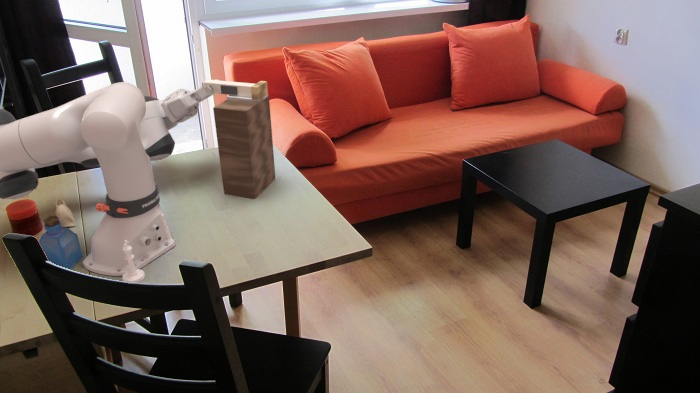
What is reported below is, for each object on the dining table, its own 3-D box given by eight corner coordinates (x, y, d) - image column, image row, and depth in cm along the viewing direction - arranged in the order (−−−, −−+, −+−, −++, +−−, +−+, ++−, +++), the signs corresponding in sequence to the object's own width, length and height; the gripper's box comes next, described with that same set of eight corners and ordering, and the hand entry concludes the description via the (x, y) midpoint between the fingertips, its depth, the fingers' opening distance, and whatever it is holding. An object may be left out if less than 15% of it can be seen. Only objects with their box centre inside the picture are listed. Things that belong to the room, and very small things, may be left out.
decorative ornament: (59, 230, 149) (53, 212, 146) (58, 216, 155) (53, 199, 153) (75, 226, 150) (71, 209, 148) (74, 213, 157) (69, 196, 154)
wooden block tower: (254, 198, 163) (244, 95, 149) (224, 194, 166) (211, 92, 151) (275, 178, 175) (267, 80, 160) (246, 174, 178) (236, 78, 163)
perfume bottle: (59, 254, 138) (46, 211, 133) (83, 256, 138) (71, 213, 132) (44, 269, 133) (30, 225, 127) (68, 271, 132) (55, 227, 127)
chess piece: (148, 271, 132) (140, 235, 127) (140, 284, 127) (131, 246, 123) (127, 271, 132) (119, 234, 127) (119, 283, 128) (109, 246, 123)
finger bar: (253, 97, 158) (252, 87, 157) (201, 92, 163) (200, 82, 161) (258, 94, 161) (257, 83, 160) (208, 89, 166) (206, 79, 164)
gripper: (207, 103, 179) (238, 85, 172) (169, 125, 161) (203, 105, 155) (196, 85, 177) (227, 66, 170) (156, 105, 160) (190, 85, 153)
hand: (215, 85), depth 162 cm, fingers open, 4 cm apart
